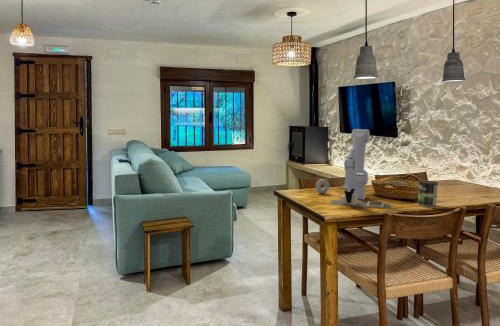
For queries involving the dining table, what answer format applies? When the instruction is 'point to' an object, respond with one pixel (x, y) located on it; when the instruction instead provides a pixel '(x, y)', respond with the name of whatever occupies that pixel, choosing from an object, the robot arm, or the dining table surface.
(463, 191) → the dining table surface
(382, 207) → the frame
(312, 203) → the dining table surface
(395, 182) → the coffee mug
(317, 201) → the dining table surface
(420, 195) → the coffee can
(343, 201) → the card box
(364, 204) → the mat
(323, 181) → the donut
